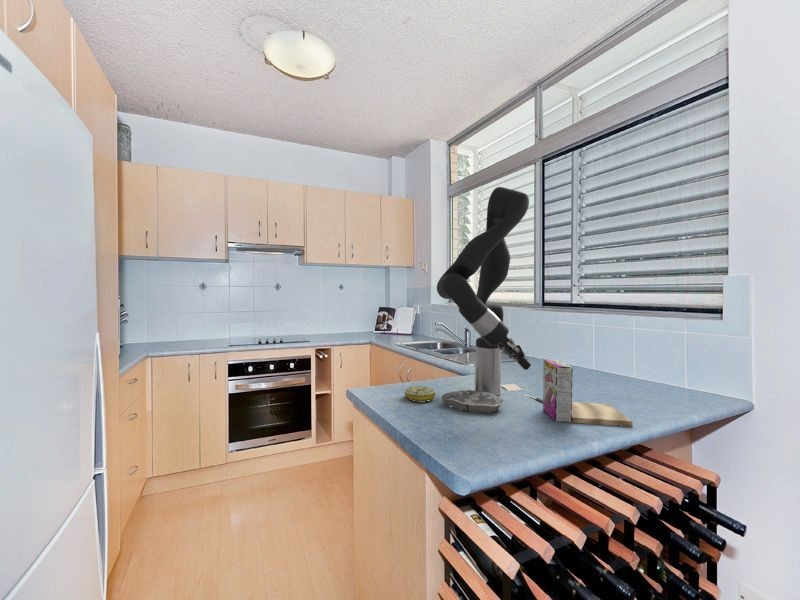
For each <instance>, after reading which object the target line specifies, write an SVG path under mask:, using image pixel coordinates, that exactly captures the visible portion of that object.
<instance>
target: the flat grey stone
mask: <svg viewBox="0 0 800 600" xmlns="http://www.w3.org/2000/svg"><path fill="white" fill-rule="evenodd" d="M441 400H442V402H443V403H444V404H445V405H446V406H447V405H448V406H452V407H455V408H458V409H457V410H459V409H461V410H460V411H462V410H466V411H465V412H469V413H473V412H480V413H479V414H493V413H494V412H496V411H497V410H498V409H500V406H501V405H502V404H503V403H504V399H501V398H500V397H499V396H498V395H497V396H496V395H493V394H491V393H488V392H478V393H477V391H475V390H472V389H471V390H470V389H469V390H468V389H466V390H457V391H450V392H445V393H444V394H442V396H441ZM448 406H447V407H448ZM455 408H454V409H455Z"/></svg>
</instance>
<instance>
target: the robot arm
mask: <svg viewBox="0 0 800 600" xmlns="http://www.w3.org/2000/svg"><path fill="white" fill-rule="evenodd" d="M529 205H530V197H529V196H528V194H527V193H525V192H523V191H520V190H515V189H512V188H507V187H503V186H497V187H496V188H494V189H493V190H492V192H491V193H490V195H489V199H488V201H487V208H486V210H487V211H486V222H485V223H486V224H485V231H483V232H482V233H480V234H478V235H476V236H474V237H473V238H472V239H471V240H470V241H468V243H467V244H466V245H465V246H464V248H463V249H462V250H461V251H460V253H459V255H458V256H457V258H456V259H455V261H454V262H453V263H452V264H451V265H450V266H449V267H448V268H447V270H446V271H445V272H444V273H443V274H442V276H440V278H439V280H438V282H437V284H436V291H437V294H438V296H440V297H441V298H442V299H444V300H452V301H453V302H454V304H455V305H456V306H457V307H458V311H459V313H460V315H461V316H462V317H463V318H464V319H465V320H466V322H468V323H469V324H470V326H471V327H472V328H473V330H475V332H476V333H477V334H478V335H479V336H480V337H477V338H476V339H475V365H474V391H477V393H478V392H488V393H491V394H493V395H496V396H497V397H498V396H499V395H501V388H502V383H501V382H502V381H501V379H502V374H501V373H502V352H503V353H504V354H505V355H506V356H508V357H509V358H510V359H513V361H515V362H517V363H518V365H519V366H520V367H521V368H522V369H523V370H526V371H528V370H529V368H530V367H531V366H532V365H531V363H530V362H529V361H528V360H527V358H525V357H526V356H525V355H526V354H525V352H524V350H523V349H522V347H521V346H520V345H519V344H516V343H515V341H514V340H513V338H510V337H508V334H509V332H510V329H509V327H508V326H507V325H506V324H505V323H504V308H503V306H502V304H500V303H490V302H489V303H487V302H488V300H489V298H490V296H491V295H492V294H493V293H494V292H495V291H496V290H497V289H498V288H499V287H500V286H501V285H502V284H503V282H505V280H506V278H508V277H507V276H508V274H509V273H508V272H509V269H510V268H509V267H510V264H511V254H510V253H511V252H510V249H509V246H508V245H507V241H506V237H507V236H508V234H510V232H511V231H513V229H514V228H515V227H516V226H517V225H519V223H520V222H521V221H522V220H523V218H524V217H525V215H526V213H527V211H528V209H529V207H530V206H529ZM479 269H480V271H479V277H478V278H479V279H478V286H477V291H476V292H475V291H474V289H473V287H472V286H471V285H470V283H469V282H468V280H469V278H470V277H473V275H475V274H476V272H477V271H478V270H479Z"/></svg>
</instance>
